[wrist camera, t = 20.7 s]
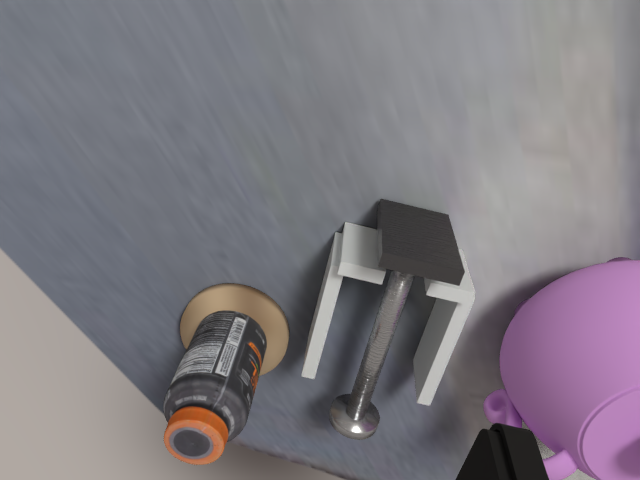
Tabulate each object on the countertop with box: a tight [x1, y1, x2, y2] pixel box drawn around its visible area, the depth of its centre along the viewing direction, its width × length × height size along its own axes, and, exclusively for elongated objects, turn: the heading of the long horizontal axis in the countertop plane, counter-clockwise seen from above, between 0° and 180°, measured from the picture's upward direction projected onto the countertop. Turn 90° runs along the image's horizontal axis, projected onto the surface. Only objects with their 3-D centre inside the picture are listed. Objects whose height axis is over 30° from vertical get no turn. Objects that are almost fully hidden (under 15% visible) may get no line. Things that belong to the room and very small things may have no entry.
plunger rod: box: [329, 199, 465, 440], centre depth 40 cm, size 5×18×8 cm, turn 168°
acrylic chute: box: [301, 222, 475, 406], centre depth 41 cm, size 10×11×6 cm
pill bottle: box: [163, 310, 267, 465], centre depth 41 cm, size 6×6×11 cm
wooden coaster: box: [180, 283, 289, 376], centre depth 46 cm, size 9×9×1 cm
